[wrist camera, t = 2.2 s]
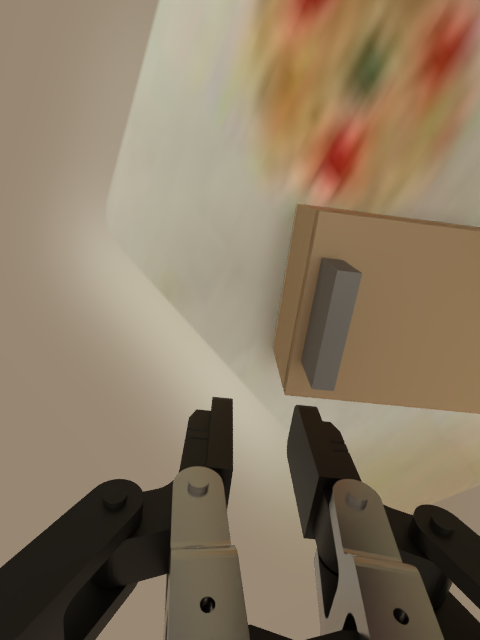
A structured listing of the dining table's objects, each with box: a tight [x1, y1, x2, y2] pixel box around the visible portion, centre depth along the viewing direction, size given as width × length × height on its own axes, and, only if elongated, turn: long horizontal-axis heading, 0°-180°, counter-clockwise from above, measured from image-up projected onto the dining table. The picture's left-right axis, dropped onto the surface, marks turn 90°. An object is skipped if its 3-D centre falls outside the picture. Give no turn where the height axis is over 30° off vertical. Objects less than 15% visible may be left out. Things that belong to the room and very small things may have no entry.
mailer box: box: [273, 204, 480, 388], centre depth 32 cm, size 20×14×8 cm
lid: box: [284, 210, 480, 414], centre depth 26 cm, size 20×14×5 cm
